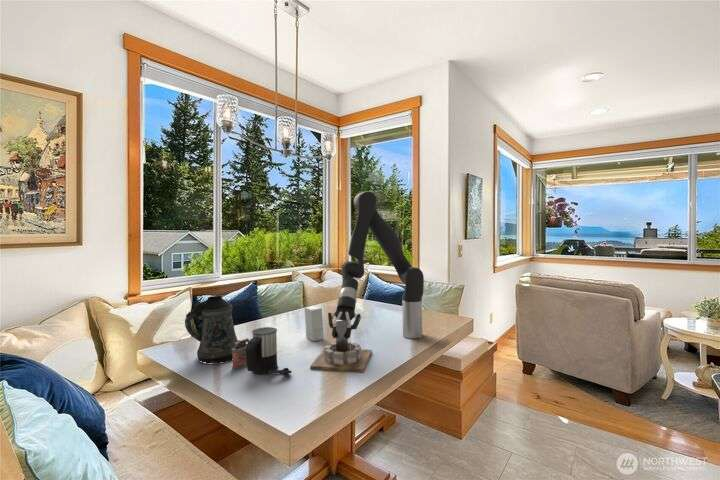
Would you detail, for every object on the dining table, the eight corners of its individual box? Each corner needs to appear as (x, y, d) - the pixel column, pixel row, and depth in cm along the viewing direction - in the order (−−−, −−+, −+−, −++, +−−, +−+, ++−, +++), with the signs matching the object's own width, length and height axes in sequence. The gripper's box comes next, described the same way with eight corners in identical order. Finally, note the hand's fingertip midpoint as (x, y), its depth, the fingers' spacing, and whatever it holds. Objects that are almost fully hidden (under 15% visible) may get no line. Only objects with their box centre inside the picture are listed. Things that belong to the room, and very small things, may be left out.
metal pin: (348, 348, 136) (348, 318, 136) (346, 352, 132) (346, 321, 131) (337, 347, 137) (337, 318, 137) (334, 351, 133) (334, 321, 132)
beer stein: (248, 353, 143) (247, 294, 143) (207, 370, 127) (205, 303, 126) (223, 347, 152) (221, 291, 151) (181, 362, 135) (179, 299, 134)
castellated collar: (371, 352, 142) (371, 340, 142) (363, 372, 123) (362, 358, 123) (325, 350, 146) (325, 338, 146) (310, 369, 127) (309, 355, 126)
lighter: (236, 370, 126) (235, 343, 126) (230, 368, 128) (229, 342, 128) (253, 363, 133) (252, 337, 133) (247, 361, 135) (246, 336, 135)
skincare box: (324, 339, 161) (323, 308, 160) (312, 341, 158) (311, 310, 157) (316, 335, 168) (315, 305, 167) (304, 337, 165) (304, 306, 164)
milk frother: (257, 364, 132) (256, 326, 131) (298, 365, 131) (297, 326, 130) (243, 381, 117) (242, 338, 117) (288, 381, 117) (287, 338, 116)
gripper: (329, 294, 143) (320, 332, 131) (362, 295, 140) (357, 333, 128) (332, 304, 148) (325, 341, 136) (365, 305, 145) (360, 343, 134)
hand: (340, 337), depth 132 cm, fingers closed on metal pin, 4 cm apart
